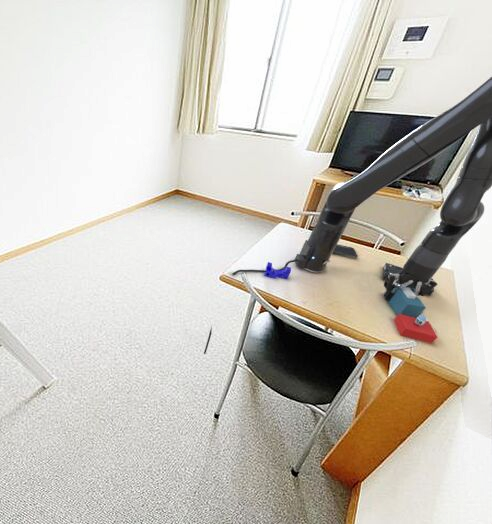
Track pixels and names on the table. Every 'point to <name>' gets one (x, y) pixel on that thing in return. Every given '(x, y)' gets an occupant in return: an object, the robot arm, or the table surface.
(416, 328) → the red rectangular block
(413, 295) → the tissue box
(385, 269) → the disk drive
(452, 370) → the table surface
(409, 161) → the robot arm
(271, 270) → the cable holder
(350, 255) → the phone
